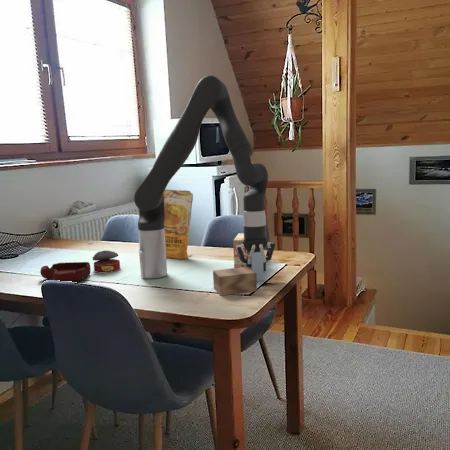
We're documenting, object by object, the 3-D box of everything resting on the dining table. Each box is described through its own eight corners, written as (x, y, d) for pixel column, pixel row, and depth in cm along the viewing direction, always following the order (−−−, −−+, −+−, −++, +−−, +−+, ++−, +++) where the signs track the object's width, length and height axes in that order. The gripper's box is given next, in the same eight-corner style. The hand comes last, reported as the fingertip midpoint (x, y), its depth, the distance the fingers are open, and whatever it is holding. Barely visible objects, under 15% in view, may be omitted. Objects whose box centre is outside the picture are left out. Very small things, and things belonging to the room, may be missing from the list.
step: (220, 295, 152) (219, 276, 151) (213, 288, 159) (213, 270, 158) (257, 290, 155) (256, 272, 154) (248, 284, 162) (248, 266, 161)
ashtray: (103, 278, 177) (102, 265, 177) (60, 289, 166) (59, 275, 165) (78, 270, 190) (77, 258, 189) (37, 280, 179) (36, 267, 178)
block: (252, 281, 165) (251, 252, 163) (248, 278, 169) (247, 250, 167) (263, 280, 166) (263, 251, 164) (259, 277, 170) (259, 249, 168)
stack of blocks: (242, 258, 199) (241, 228, 196) (258, 258, 197) (257, 228, 195) (234, 272, 178) (233, 239, 176) (251, 272, 177) (250, 239, 175)
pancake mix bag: (162, 252, 215) (158, 188, 210) (197, 256, 204) (193, 189, 199) (151, 255, 209) (147, 190, 205) (187, 260, 199) (183, 191, 194)
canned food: (95, 283, 187) (81, 261, 187) (110, 274, 197) (96, 252, 196) (116, 272, 183) (102, 249, 182) (130, 262, 192) (116, 241, 191)
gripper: (237, 227, 159) (239, 278, 161) (278, 223, 162) (279, 274, 165) (231, 223, 166) (232, 273, 169) (270, 220, 169) (271, 268, 172)
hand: (256, 273), depth 167 cm, fingers closed on block, 4 cm apart
